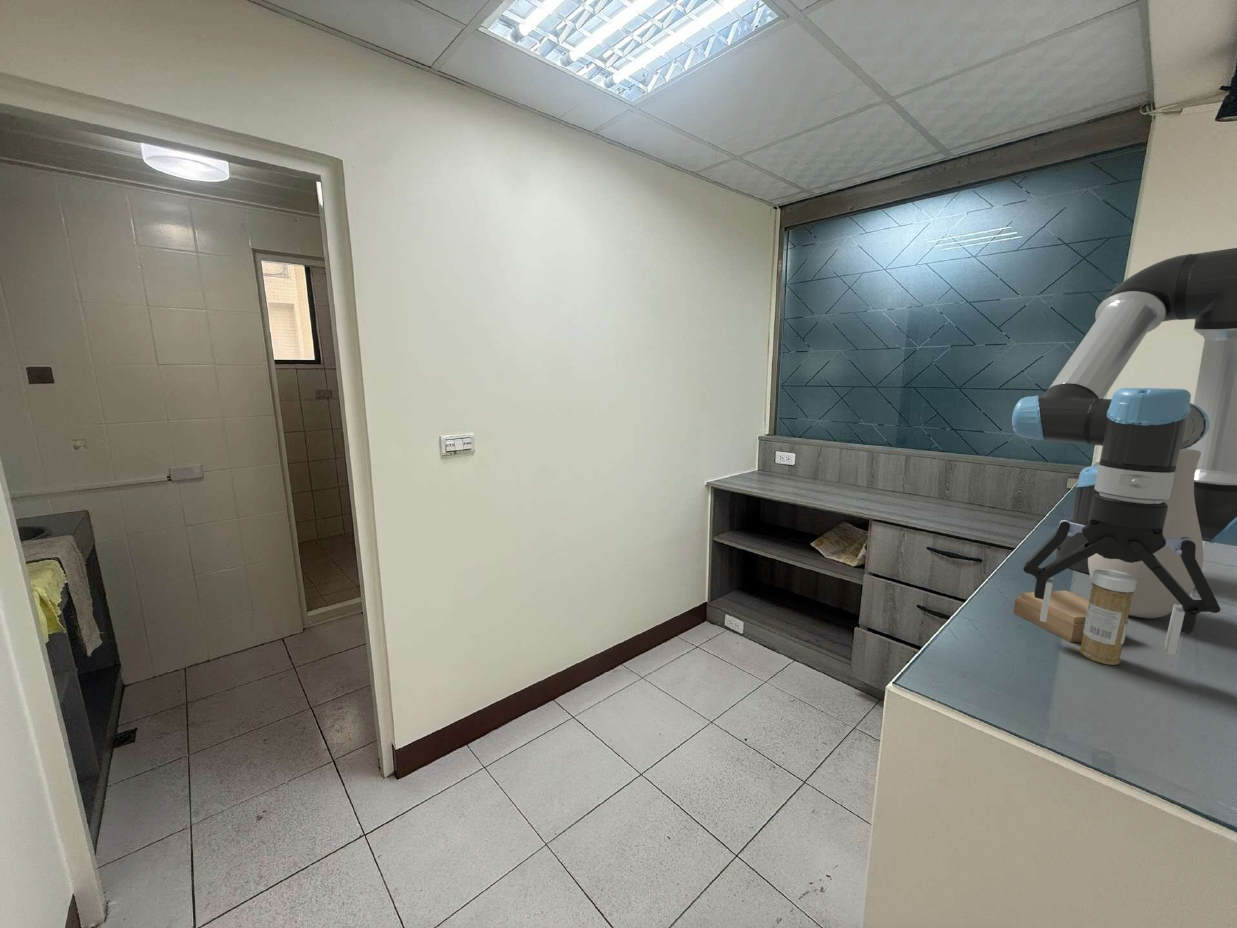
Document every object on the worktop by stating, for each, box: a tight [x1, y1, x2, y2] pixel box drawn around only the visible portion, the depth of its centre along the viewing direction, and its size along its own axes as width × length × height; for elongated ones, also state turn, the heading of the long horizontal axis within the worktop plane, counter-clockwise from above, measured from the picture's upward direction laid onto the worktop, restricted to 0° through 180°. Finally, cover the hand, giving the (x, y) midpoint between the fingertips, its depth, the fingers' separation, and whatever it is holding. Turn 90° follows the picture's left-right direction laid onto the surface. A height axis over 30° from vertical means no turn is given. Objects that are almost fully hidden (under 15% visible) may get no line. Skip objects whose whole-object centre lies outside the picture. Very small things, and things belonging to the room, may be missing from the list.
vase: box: [1088, 449, 1204, 619], centre depth 86 cm, size 14×14×30 cm
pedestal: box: [1013, 590, 1129, 643], centre depth 83 cm, size 10×10×4 cm
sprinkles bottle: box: [1078, 569, 1137, 666], centre depth 73 cm, size 5×5×13 cm
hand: (1102, 633), depth 74 cm, fingers open, 13 cm apart
